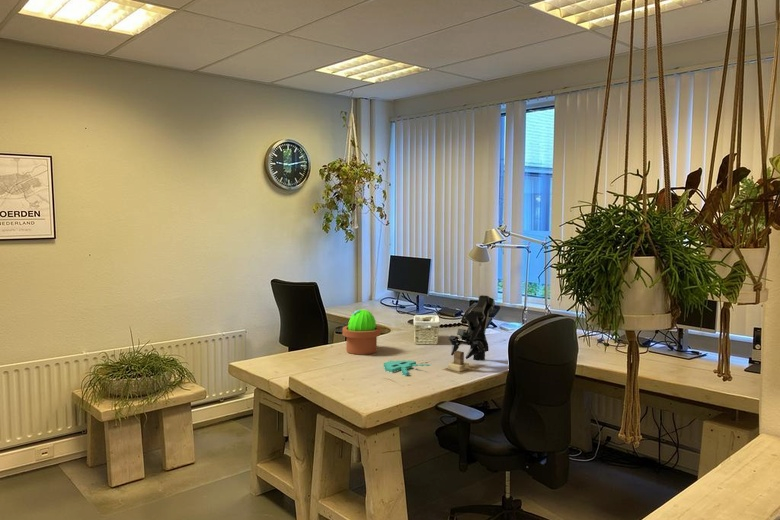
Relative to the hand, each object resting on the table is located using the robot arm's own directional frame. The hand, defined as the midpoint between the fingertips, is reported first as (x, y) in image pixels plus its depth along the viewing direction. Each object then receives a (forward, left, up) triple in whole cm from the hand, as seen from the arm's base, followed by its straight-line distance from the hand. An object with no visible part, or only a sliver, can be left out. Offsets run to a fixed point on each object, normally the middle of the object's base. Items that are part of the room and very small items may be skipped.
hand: (458, 356), depth 289 cm
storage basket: (-43, -57, -8) cm, 72 cm away
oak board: (-3, 0, -8) cm, 8 cm away
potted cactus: (+5, -66, -8) cm, 67 cm away
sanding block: (0, 0, -6) cm, 7 cm away
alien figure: (+15, -25, -9) cm, 30 cm away
